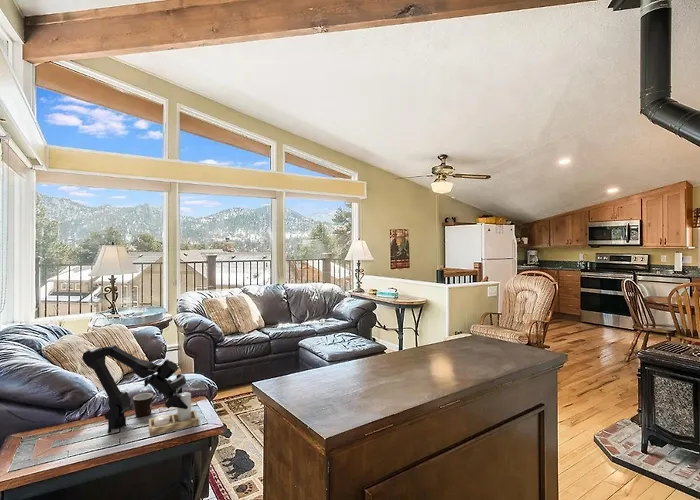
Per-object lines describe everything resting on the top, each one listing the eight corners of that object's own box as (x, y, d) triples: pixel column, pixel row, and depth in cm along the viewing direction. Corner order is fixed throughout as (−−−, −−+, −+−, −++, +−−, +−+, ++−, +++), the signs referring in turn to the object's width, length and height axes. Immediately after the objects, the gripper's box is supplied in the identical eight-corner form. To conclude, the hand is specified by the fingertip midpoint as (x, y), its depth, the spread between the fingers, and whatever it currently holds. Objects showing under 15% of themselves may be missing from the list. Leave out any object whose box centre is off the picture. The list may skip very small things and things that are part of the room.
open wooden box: (149, 437, 170) (149, 429, 170) (148, 427, 179) (148, 419, 179) (198, 427, 179) (198, 419, 179) (195, 417, 189) (194, 410, 189)
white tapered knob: (178, 426, 177) (177, 398, 177) (176, 421, 183) (176, 393, 182) (192, 423, 180) (191, 395, 180) (190, 418, 186) (189, 391, 185)
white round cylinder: (154, 431, 173) (154, 422, 172) (153, 425, 178) (153, 417, 178) (170, 428, 176) (170, 419, 176) (169, 422, 181) (169, 414, 181)
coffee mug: (144, 421, 185) (144, 400, 185) (129, 419, 187) (128, 399, 186) (161, 411, 196) (161, 391, 196) (146, 409, 198) (146, 390, 198)
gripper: (173, 377, 171) (200, 399, 175) (177, 365, 189) (201, 384, 192) (153, 397, 169) (181, 419, 172) (159, 382, 186) (184, 402, 190)
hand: (187, 405), depth 182 cm, fingers open, 7 cm apart
